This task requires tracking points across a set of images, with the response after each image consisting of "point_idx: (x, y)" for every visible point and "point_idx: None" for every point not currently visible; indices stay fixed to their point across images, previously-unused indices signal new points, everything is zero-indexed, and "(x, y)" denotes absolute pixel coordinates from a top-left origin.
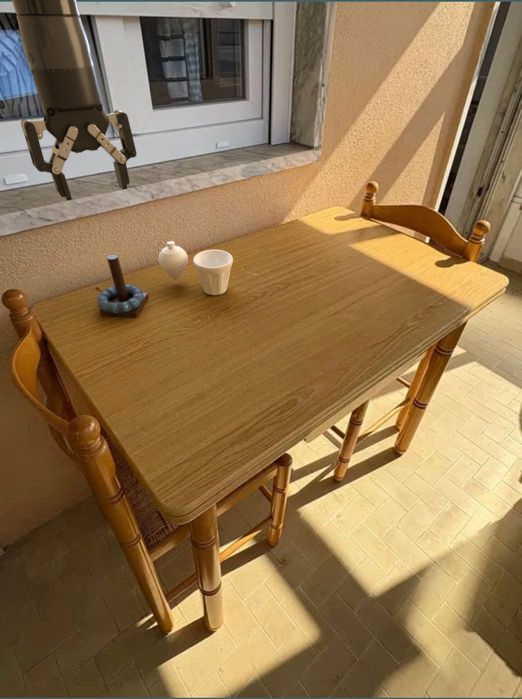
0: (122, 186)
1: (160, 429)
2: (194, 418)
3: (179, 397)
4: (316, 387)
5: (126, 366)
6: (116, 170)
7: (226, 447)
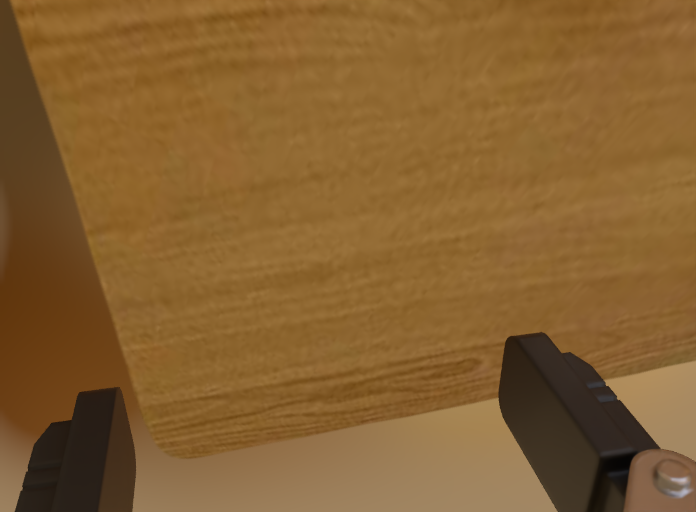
0: (507, 419)
1: (200, 317)
2: (278, 321)
3: (274, 255)
4: None
5: (183, 73)
6: (560, 446)
7: (300, 400)
